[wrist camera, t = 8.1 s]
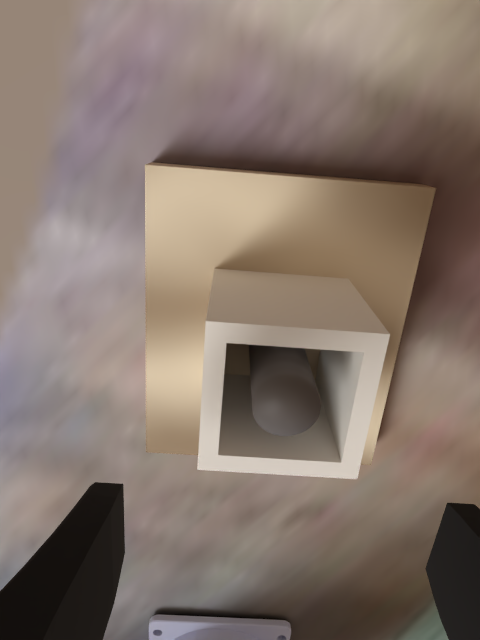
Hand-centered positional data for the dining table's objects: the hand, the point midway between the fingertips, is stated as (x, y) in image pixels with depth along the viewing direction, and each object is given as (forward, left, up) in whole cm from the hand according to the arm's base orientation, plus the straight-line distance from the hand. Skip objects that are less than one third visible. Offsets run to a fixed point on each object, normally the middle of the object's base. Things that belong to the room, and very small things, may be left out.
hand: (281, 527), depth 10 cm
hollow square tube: (+1, 0, -9) cm, 9 cm away
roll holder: (+1, 0, -10) cm, 10 cm away
